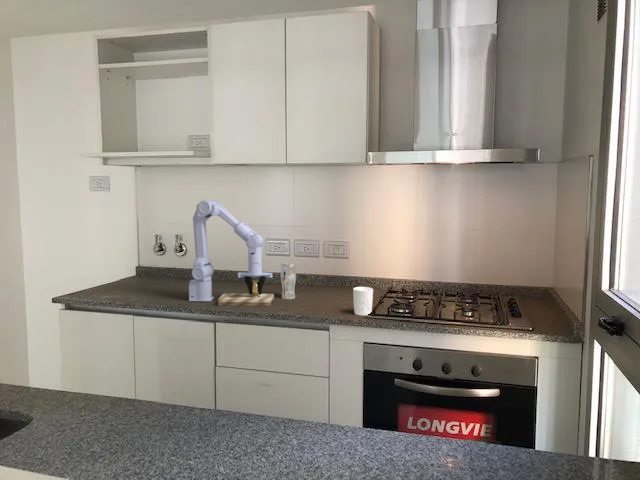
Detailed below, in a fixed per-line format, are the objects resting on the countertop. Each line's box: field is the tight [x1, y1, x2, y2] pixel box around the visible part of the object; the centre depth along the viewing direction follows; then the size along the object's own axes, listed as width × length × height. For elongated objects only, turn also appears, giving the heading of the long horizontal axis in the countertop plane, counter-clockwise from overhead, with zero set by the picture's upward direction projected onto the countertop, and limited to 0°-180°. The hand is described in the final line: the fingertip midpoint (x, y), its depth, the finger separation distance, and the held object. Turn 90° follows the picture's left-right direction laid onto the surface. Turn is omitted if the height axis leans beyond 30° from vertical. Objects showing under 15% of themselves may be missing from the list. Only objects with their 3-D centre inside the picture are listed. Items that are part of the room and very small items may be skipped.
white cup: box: [352, 286, 374, 317], centre depth 206 cm, size 8×8×10 cm
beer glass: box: [280, 263, 297, 300], centre depth 234 cm, size 7×7×15 cm
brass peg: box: [251, 280, 259, 297], centre depth 224 cm, size 4×4×9 cm
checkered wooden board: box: [217, 292, 275, 307], centre depth 224 cm, size 22×12×3 cm, turn 88°
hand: (255, 294), depth 224 cm, fingers closed on brass peg, 4 cm apart
